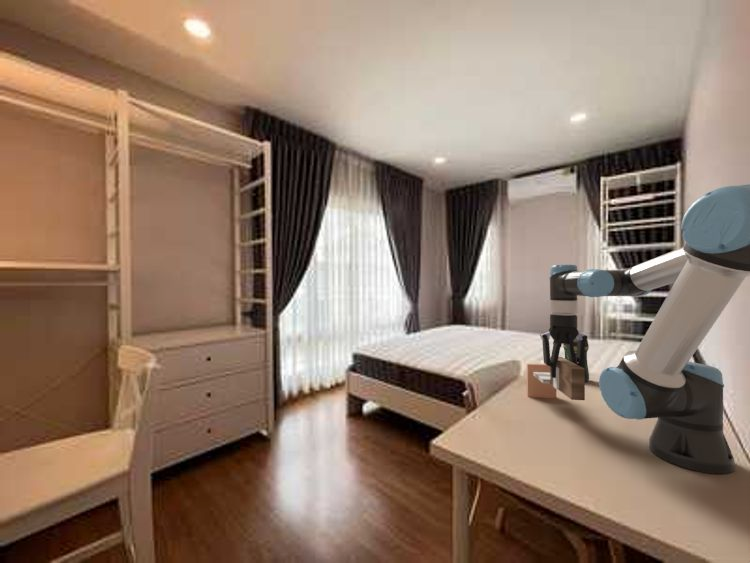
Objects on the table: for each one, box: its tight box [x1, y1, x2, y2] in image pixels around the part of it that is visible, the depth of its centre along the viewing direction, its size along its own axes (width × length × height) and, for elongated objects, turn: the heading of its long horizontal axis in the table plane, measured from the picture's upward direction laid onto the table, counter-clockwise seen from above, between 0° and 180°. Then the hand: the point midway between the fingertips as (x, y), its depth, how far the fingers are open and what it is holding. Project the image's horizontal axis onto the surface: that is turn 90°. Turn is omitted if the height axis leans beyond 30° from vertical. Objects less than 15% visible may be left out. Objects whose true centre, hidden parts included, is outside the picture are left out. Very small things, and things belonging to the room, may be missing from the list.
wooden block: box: [533, 355, 586, 401], centre depth 110 cm, size 26×8×9 cm, turn 172°
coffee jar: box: [562, 337, 590, 383], centre depth 150 cm, size 10×8×19 cm
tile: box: [526, 363, 557, 399], centre depth 127 cm, size 2×10×12 cm, turn 82°
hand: (563, 388), depth 107 cm, fingers closed on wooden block, 3 cm apart
